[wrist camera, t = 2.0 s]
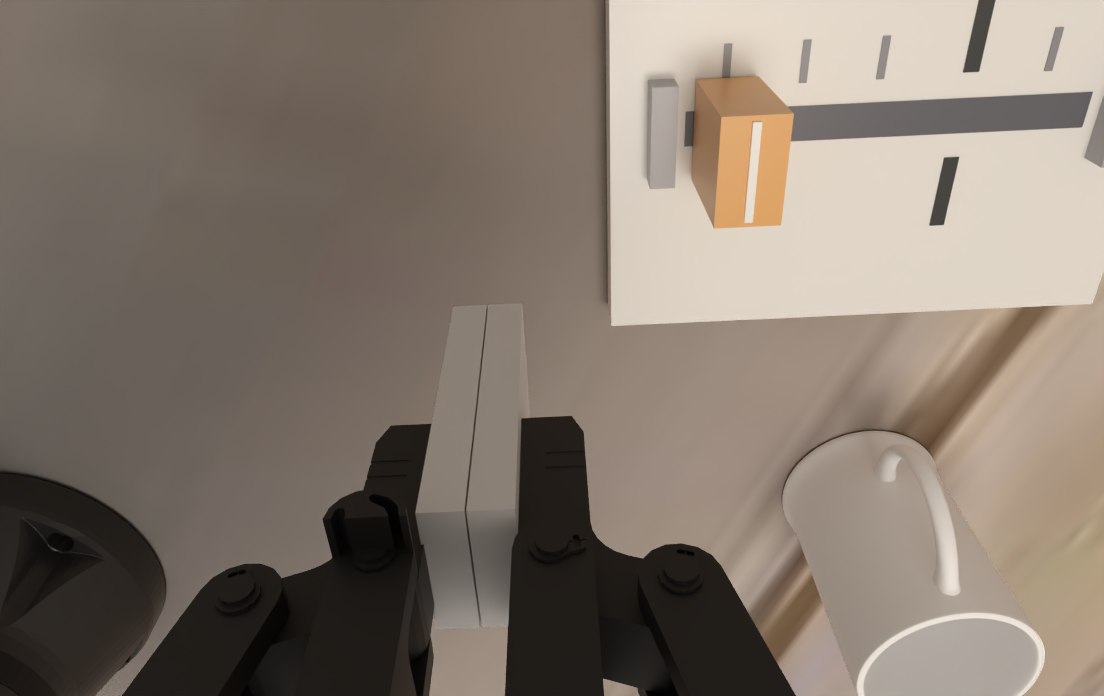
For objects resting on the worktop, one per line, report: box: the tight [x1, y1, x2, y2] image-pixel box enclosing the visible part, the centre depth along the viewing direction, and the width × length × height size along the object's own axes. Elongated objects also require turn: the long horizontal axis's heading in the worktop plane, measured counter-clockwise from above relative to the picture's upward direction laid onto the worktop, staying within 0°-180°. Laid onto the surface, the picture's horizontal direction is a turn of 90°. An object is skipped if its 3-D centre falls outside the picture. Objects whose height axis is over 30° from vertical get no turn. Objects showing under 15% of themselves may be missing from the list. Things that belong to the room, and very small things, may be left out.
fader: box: [691, 76, 794, 229], centre depth 30 cm, size 2×4×5 cm, turn 2°
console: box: [605, 0, 1104, 326], centre depth 33 cm, size 22×16×3 cm
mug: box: [782, 431, 1045, 696], centre depth 39 cm, size 12×8×12 cm
